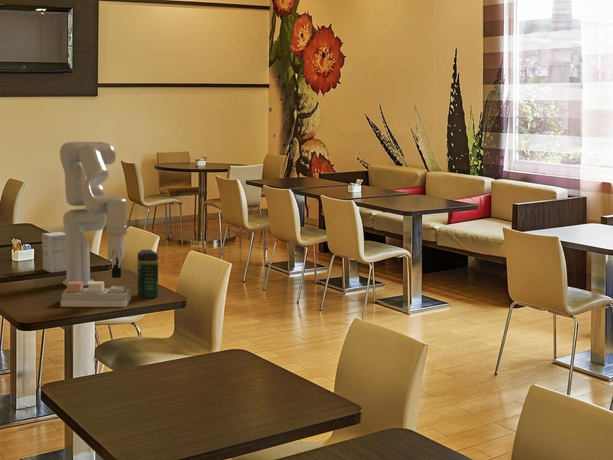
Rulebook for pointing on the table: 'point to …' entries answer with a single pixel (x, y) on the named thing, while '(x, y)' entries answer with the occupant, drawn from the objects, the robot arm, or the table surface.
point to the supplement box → (54, 251)
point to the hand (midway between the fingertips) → (116, 277)
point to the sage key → (117, 289)
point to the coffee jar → (147, 274)
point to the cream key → (96, 287)
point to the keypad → (96, 299)
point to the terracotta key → (74, 286)
